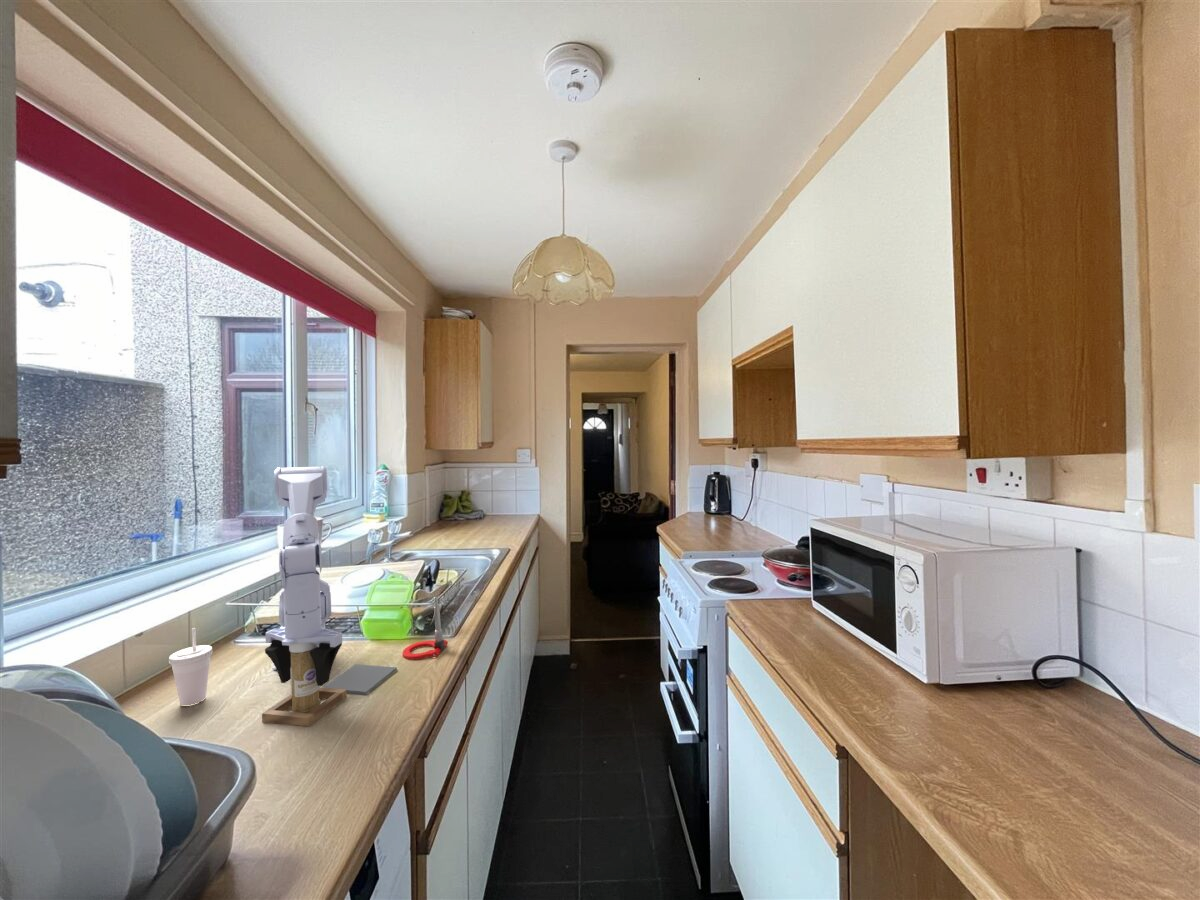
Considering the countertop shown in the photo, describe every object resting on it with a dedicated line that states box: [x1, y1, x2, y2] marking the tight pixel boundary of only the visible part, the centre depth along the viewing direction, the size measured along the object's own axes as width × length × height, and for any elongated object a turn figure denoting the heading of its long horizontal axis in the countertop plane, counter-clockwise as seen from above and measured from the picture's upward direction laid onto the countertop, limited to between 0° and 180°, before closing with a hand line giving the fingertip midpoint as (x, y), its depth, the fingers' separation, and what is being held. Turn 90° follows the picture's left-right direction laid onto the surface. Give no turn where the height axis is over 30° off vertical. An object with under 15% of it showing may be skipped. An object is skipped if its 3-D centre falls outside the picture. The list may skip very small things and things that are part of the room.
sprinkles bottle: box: [289, 642, 321, 713], centre depth 88 cm, size 5×5×14 cm
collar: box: [261, 686, 348, 727], centre depth 88 cm, size 9×9×2 cm
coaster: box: [321, 663, 398, 696], centre depth 98 cm, size 10×10×1 cm
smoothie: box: [168, 627, 213, 705], centre depth 91 cm, size 6×6×14 cm
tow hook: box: [401, 596, 449, 660], centre depth 111 cm, size 8×13×9 cm
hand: (305, 681), depth 88 cm, fingers open, 7 cm apart
